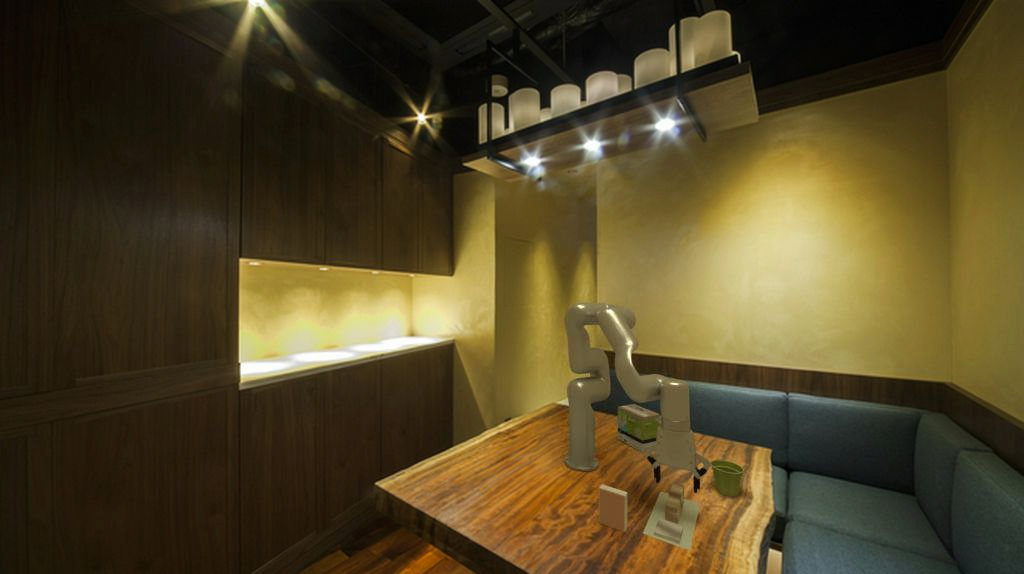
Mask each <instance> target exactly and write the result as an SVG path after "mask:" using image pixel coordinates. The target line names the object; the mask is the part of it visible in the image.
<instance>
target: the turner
mask: <svg viewBox="0 0 1024 574" xmlns="http://www.w3.org/2000/svg"><path fill="white" fill-rule="evenodd" d="M668 494H669V495H668V498H667V500H666V503H665V520H664V519H661V518H659V520H658V522H657V525H656V527H655V530H654V535H655V536H658V537H661V538H664V539H666V540H669V541H672V542H675V543H677V544H680V540H681V536H682V532H683V526H682V525H679V524H678V522H679V519H680V515H681V512H682V508H683V505H684V499H685V484H682V483H678V482H672V485H671V488H670V489H669V492H668Z"/></svg>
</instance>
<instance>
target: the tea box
mask: <svg viewBox="0 0 1024 574" xmlns="http://www.w3.org/2000/svg"><path fill="white" fill-rule="evenodd" d="M660 416H661V413H660V414H659V413H658V412H655V411H653V410H651V409H647V408H644V407H642V406H640V405H638V404H635V403H632V404H626V405H621V406H617V440H619V441H621V442H623V443H624V444H627V445H628V446H630V447H632V448H634V449H636V450H637V451H638V452H640V453H644V449H645V448H647V447H651V446H654V445H656V437H657V430H658V427H659V426H660V423H659V422H656V420H655V419H656V417H660ZM644 454H645V453H644Z"/></svg>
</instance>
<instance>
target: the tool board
mask: <svg viewBox="0 0 1024 574" xmlns="http://www.w3.org/2000/svg"><path fill="white" fill-rule="evenodd" d="M668 495H669V493H667V492H662V491H660V492H659V494H658V496H657V499H656V502H655V503H654V506H653V509H652V511H651V513H650V515H649V518H648V520H647V522H646V525H645V526H644V529H643V532H642V534H643V535H645V536H648V537H652V538H654V539H657V540H659V541H662V542H665V543H668V544H670V545H672V546H675V547H679V548H680V549H681V548H682V549H684V550H686V551H688V552H691V548H692V543H693V540H694V534H695V530H696V529H695V528H696V524H697V519H698V515H699V509H700V505H701V504H700V502H696V501H694V500H689V499H686V498H684V505H683V508H682V512H681V515H680V519H679V522H678V524H679V525H682V526H683V532H682V536H681V540H680V544H677V543H675V542H672V541H669V540H666V539H664V538H661V537H658V536H655V535H654V530H655V527H656V525H657V522H658V520H659V518H661V519H664V520H665V503H666V500H667V498H668Z"/></svg>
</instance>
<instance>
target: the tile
mask: <svg viewBox="0 0 1024 574" xmlns="http://www.w3.org/2000/svg"><path fill="white" fill-rule="evenodd" d="M598 490H599V491H598V493H599V494H598V523H599V524H600V525H601V524H602V525H604V526H607V527H610V528H612V529H615V530H618V531H620V532H623V533H625V532H626V531H627V529H628V492H627V491H624V490H622V489H618V488H614V487H612V486H608V485H605V484H600V486H599V487H598Z"/></svg>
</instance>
